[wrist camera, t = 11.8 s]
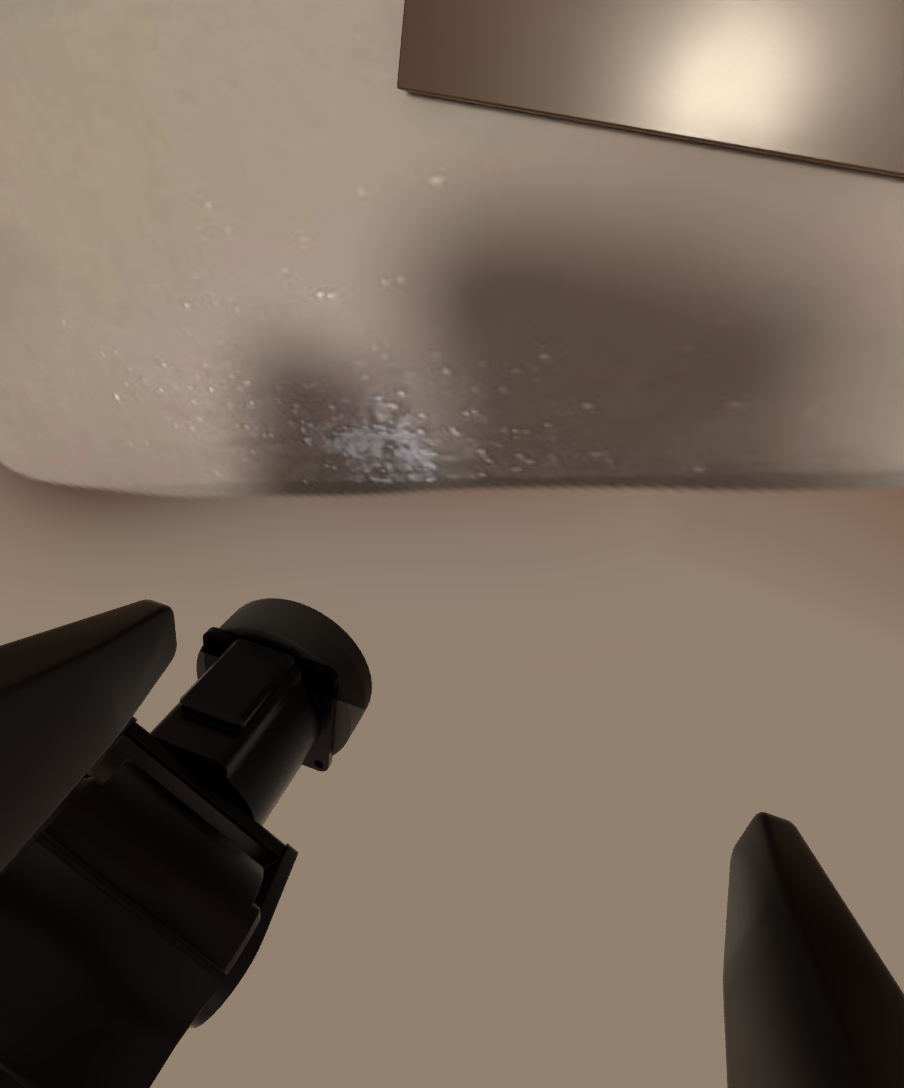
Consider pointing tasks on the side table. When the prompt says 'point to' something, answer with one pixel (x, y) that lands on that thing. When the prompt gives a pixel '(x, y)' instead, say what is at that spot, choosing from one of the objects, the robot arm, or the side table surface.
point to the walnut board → (679, 69)
